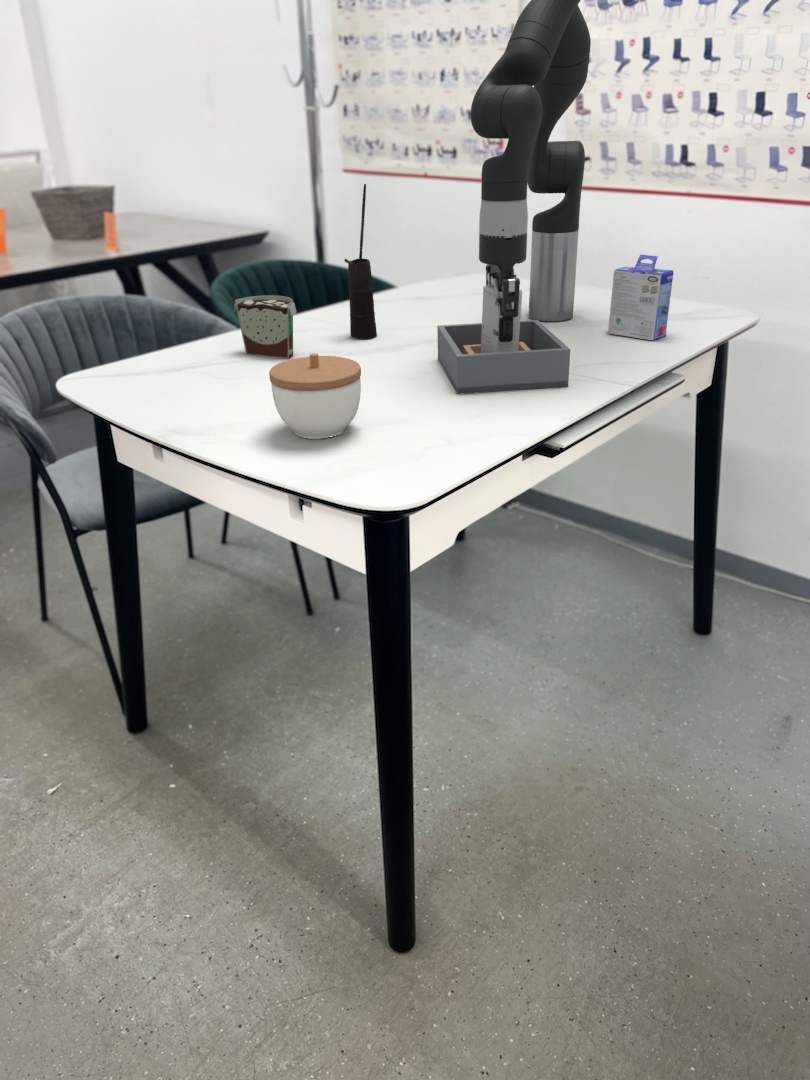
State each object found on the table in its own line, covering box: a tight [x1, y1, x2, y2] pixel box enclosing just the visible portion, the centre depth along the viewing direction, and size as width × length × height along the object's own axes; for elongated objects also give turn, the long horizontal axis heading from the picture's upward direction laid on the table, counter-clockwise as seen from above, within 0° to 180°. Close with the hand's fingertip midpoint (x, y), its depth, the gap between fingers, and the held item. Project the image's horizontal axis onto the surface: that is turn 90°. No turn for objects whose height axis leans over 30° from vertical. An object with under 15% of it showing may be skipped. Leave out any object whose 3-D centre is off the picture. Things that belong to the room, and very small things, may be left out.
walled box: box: [436, 319, 571, 395], centre depth 139 cm, size 20×18×6 cm
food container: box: [233, 295, 298, 360], centre depth 153 cm, size 12×6×10 cm, turn 65°
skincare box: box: [481, 285, 523, 353], centre depth 136 cm, size 6×4×12 cm
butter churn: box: [343, 183, 378, 340], centre depth 157 cm, size 9×10×28 cm
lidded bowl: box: [268, 352, 362, 440], centre depth 116 cm, size 13×13×11 cm
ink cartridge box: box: [607, 254, 674, 341], centre depth 155 cm, size 10×6×14 cm, turn 49°
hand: (500, 335), depth 137 cm, fingers closed on skincare box, 6 cm apart
